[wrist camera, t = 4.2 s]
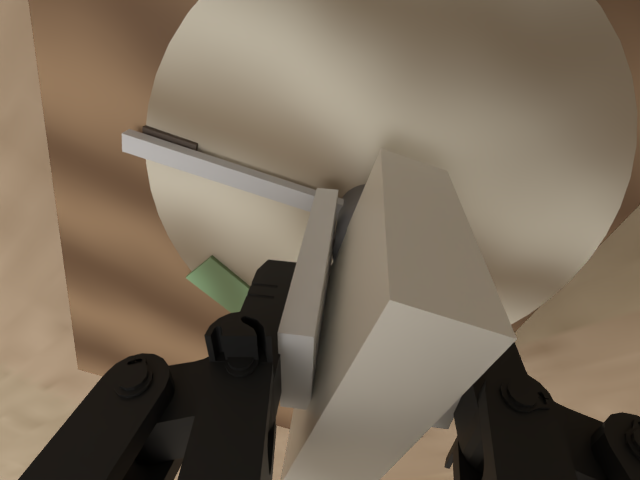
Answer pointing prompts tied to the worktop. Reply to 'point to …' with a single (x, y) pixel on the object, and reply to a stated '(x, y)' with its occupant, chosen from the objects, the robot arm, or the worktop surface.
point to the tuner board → (323, 141)
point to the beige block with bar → (379, 310)
